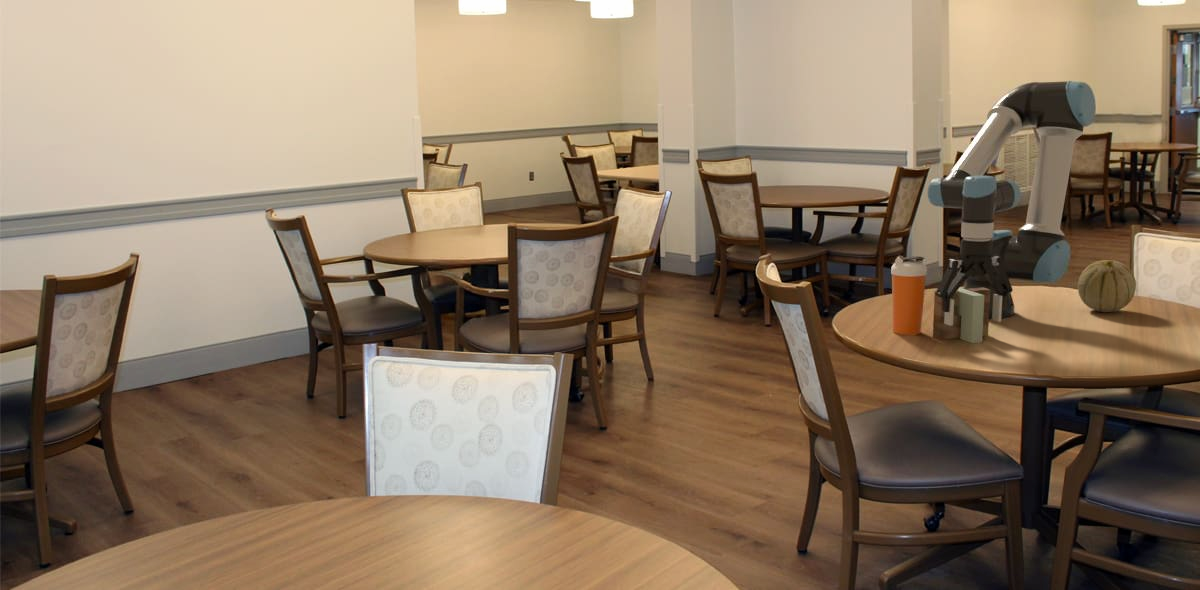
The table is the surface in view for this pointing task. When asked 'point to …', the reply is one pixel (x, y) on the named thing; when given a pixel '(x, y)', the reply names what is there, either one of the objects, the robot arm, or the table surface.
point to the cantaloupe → (1107, 286)
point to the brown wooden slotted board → (957, 316)
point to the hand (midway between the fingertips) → (972, 322)
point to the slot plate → (970, 315)
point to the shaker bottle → (908, 294)
